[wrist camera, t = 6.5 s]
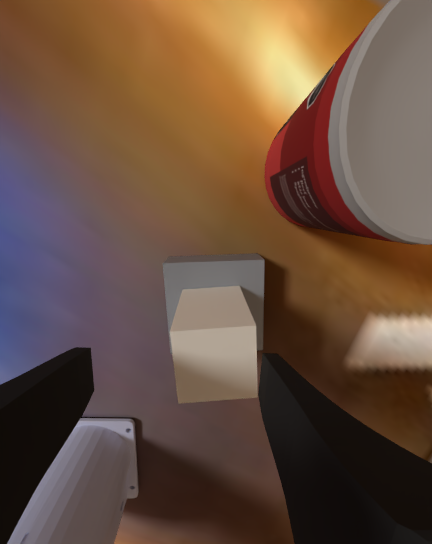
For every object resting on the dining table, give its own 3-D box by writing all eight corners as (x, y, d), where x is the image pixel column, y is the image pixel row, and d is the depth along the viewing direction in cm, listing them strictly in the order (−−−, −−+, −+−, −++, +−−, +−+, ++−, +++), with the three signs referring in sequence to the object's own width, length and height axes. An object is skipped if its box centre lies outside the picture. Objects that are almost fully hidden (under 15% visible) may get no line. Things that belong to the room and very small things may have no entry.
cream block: (241, 336, 18) (257, 397, 12) (187, 340, 18) (178, 403, 12) (239, 285, 17) (256, 325, 11) (182, 289, 17) (169, 331, 11)
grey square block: (255, 331, 21) (262, 350, 18) (176, 334, 21) (170, 354, 18) (256, 252, 20) (264, 259, 17) (169, 255, 19) (162, 263, 17)
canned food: (374, 111, 17) (659, -63, 6) (356, 227, 19) (548, 248, 8) (265, 108, 17) (362, -76, 6) (258, 226, 19) (322, 246, 8)
